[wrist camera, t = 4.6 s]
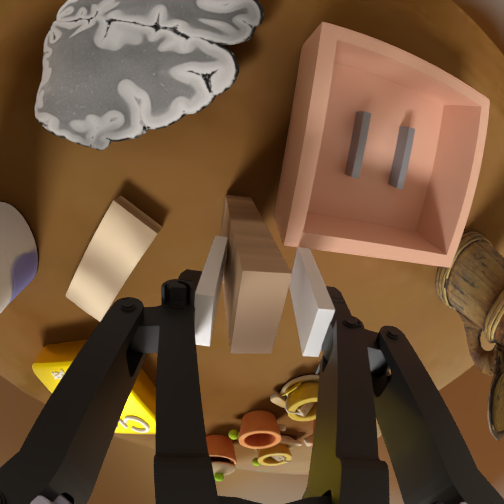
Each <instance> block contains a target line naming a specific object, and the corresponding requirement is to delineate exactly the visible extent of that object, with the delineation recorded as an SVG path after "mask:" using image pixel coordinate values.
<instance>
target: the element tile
mask: <svg viewBox="0 0 504 504" xmlns="http://www.w3.org/2000/svg"><path fill="white" fill-rule="evenodd" d="M87 340H88V339H86V340H79V341H71V342H64V343H56V344H48V345H45V346H44V348H43V349H42V351H41V352H40V354H39V355H38V357H37V358H36V360H35V361H34V363H33V364H32V369H33V371H34V373H35V374H36V376H37V377H38V378H39V379H40V380H41V382H42V383H43V384H44V385H45V386H46V387H47V388H48V390H49V391H50V392H51V393H53V391H54V390H55V388H56V387H57V385H58V383H59V382H60V380H61V379H62V377H63V376H64V374H65V372H66V371H67V369H68V368H69V366H70V365H71V363H72V362H73V360H74V359H75V357H76V356H77V354H78V353H79V351H80V350H81V348H82V347H83V346H84V344H85V343H86V341H87ZM114 433H127V434H156V387H155V386H154V384H153V383H152V382H151V380H150V379H149V378H148V376H147V375H146V373H145V372H144V371H143V369H142V368H141V370H140V372H139V375H138V377H137V379H136V382H135V384H134V386H133V389H132V391H131V393H130V396H129V398H128V400H127V403H126V405H125V408H124V410H123V413H122V415H121V417H120V420H119V422H118V425H117V427H116V430H115V432H114Z"/></svg>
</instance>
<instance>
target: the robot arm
mask: <svg viewBox="0 0 504 504" xmlns="http://www.w3.org/2000/svg"><path fill="white" fill-rule="evenodd" d="M227 239H228V237H221V236H215V238H214V241H213V243H212V246H211V249H210V252H209V255H208V257H207V260H206V263H205V266H204V269H203V272H202V271H195V270H188V269H187V270H185V271H184V272H182V273H181V274H180V276H179V278H178V279H172V280H169V281H166V282H165V283H163V284H162V286H161V295H162V305H160V306H157V307H143V303H142V302H141V301H140V300H139V299H136V298H131V297H126V298H121V299H119V300H117V301H116V302H115V303H114V304H113V305H112V306H111V308H110V309H109V311H108V312H107V313H106V315H105V316H104V317H103V319H102V320H101V321H100V323H99V324H98V326H97V327H96V328H95V330H94V331H93V333H92V334H91V335H90V337H89V338H88V340H87V341H86V343H85V344H84V346H83V347H82V348H81V350H80V351H79V353H78V354H77V356H76V357H75V359H74V360H73V362H72V363H71V365H70V366H69V368H68V369H67V371H66V372H65V374H64V376H63V377H62V379H61V380H60V382H59V383H58V385H57V387H56V388H55V390H54V391H53V393H52V395H51V396H50V398H49V400H48V401H47V403H46V405H45V406H44V408H43V410H42V411H41V413H40V415H39V417H38V418H37V420H36V422H35V424H34V425H33V427H32V429H31V431H30V432H29V434H28V436H27V438H26V440H25V442H24V444H23V446H22V448H21V449H20V451H19V452H18V453H17V454H15V455H14V456H13V457H12V458H11V459H10V460H9V461H7V462H6V463H5V464H4V465H3V466H2V467H1V468H0V504H86V503H87V502H88V500H89V498H90V496H91V494H92V491H93V489H94V486H95V483H96V480H97V478H98V475H99V472H100V469H101V467H102V464H103V461H104V458H105V456H106V453H107V450H108V448H109V445H110V443H111V440H112V438H113V435H114V432H115V430H116V427H117V425H118V422H119V420H120V417H121V415H122V413H123V410H124V408H125V405H126V403H127V400H128V398H129V396H130V393H131V391H132V389H133V386H134V384H135V382H136V379H137V377H138V375H139V372H140V370H141V368H142V366H143V363H144V361H145V359H146V357H147V353H158V357H157V377H156V455H155V456H154V483H155V498H156V504H261V503H257V502H252V501H249V500H244V499H241V498H236V497H225V496H218V495H217V490H216V485H215V479H214V473H213V467H212V462H211V458H210V456H209V453H208V448H207V441H206V434H205V426H204V419H203V411H202V402H201V393H200V384H199V374H198V364H197V353H196V345H203V346H210V342H211V337H212V332H213V327H214V321H215V316H216V311H217V306H218V301H219V296H220V291H221V286H222V281H223V275H224V266H225V257H226V248H227ZM289 287H290V292H291V297H292V303H293V308H294V313H295V318H296V323H297V328H298V334H299V339H300V344H301V350H302V355H303V356H312V357H318V356H319V353H320V351H321V348H322V351H323V356H322V359H321V361H320V363H319V366H318V368H317V371H316V373H315V374H318V372H319V386H318V399H317V410H316V421H315V430H314V439H313V448H312V456H311V463H310V471H309V478H308V484H307V488H306V491H305V493H304V495H303V497H302V499H301V500H298V501H294V502H290V503H286V504H389V470H388V465H387V463H386V462H385V461H380V460H379V457H378V445H377V444H378V443H377V427H376V418H377V421H378V424H379V427H380V430H381V433H382V436H383V438H384V441H385V444H386V447H387V450H388V453H389V456H390V459H391V462H392V465H393V469H394V471H395V475H396V478H397V481H398V484H399V488H400V491H401V494H402V498H403V501H404V504H504V499H503V498H502V497H501V496H500V494H499V493H498V492H497V491H496V490H495V489H494V487H493V486H492V485H491V484H490V483H489V482H488V481H487V479H486V478H485V477H484V476H483V475H482V474H481V473H480V471H479V470H478V469H477V467H476V465H475V462H474V460H473V458H472V456H471V454H470V451H469V449H468V447H467V445H466V443H465V441H464V439H463V437H462V435H461V433H460V431H459V429H458V427H457V425H456V423H455V421H454V419H453V417H452V415H451V413H450V412H449V410H448V408H447V406H446V404H445V402H444V401H443V399H442V397H441V395H440V393H439V391H438V390H437V388H436V386H435V384H434V383H433V381H432V379H431V377H430V376H429V374H428V372H427V371H426V369H425V367H424V366H423V364H422V362H421V361H420V359H419V357H418V356H417V354H416V352H415V351H414V349H413V348H412V346H411V344H410V343H409V341H408V340H407V338H406V336H405V335H404V334H403V333H402V331H400V330H399V329H398V328H396V327H393V326H383V327H382V328H381V329H380V331H379V333H377V332H373V331H369V330H366V329H364V325H363V323H362V322H361V321H360V320H359V319H357V318H356V317H354V316H352V315H351V313H350V311H349V309H348V307H347V304H346V302H345V300H344V299H343V296H342V294H341V292H340V291H339V290H337V289H336V288H335V287H328V286H325V283H324V281H323V279H322V276H321V274H320V272H319V269H318V267H317V264H316V262H315V260H314V257H313V255H312V253H311V251H310V249H309V248H302V247H298V248H297V253H296V257H295V262H294V266H293V271H292V275H291V279H290V284H289ZM389 369H391V375H390V374H389V372H388V370H389Z"/></svg>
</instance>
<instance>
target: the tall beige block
mask: <svg viewBox="0 0 504 504" xmlns="http://www.w3.org/2000/svg"><path fill="white" fill-rule="evenodd" d="M221 237H228V239H227V248H226V257H225V266H224V275H223V281H222V283H223V292H224V302H225V311H226V320H227V329H228V338H229V346H230V353H249V354H263V353H272V349H273V345H274V342H275V338H276V334H277V330H278V326H279V323H280V319H281V315H282V311H283V307H284V303H285V299H286V295H287V291H288V287H289V282H290V278H291V274H292V273H291V271H290V269H289V268H288V266H287V264H286V262H285V260H284V258H283V256H282V254H281V252H280V250H279V249H278V247H277V245H276V243H275V241H274V239H273V237H272V235H271V233H270V232H269V230H268V228H267V226H266V224H265V222H264V220H263V219H262V217H261V215H260V213H259V211H258V209H257V207H256V206H255V204H254V202H253V200H252V198H251V197H244V196H235V195H225V202H224V210H223V218H222V227H221Z"/></svg>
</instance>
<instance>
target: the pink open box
mask: <svg viewBox="0 0 504 504" xmlns="http://www.w3.org/2000/svg"><path fill="white" fill-rule="evenodd" d="M489 105H490V100H489V99H487V98H486V97H485V96H483V95H482V94H480V93H479V92H477V91H476V90H474V89H473V88H471V87H470V86H468V85H467V84H465V83H464V82H462V81H460V80H459V79H457V78H455V77H454V76H452V75H450V74H449V73H447V72H445V71H443V70H442V69H440V68H438V67H436V66H434V65H432V64H431V63H429V62H427V61H425V60H423V59H421V58H419V57H417V56H415V55H413V54H410V53H408V52H406V51H404V50H402V49H399V48H397V47H395V46H392V45H390V44H388V43H385V42H383V41H380V40H378V39H375V38H372V37H370V36H367V35H364V34H361V33H359V32H356V31H353V30H349V29H346V28H343V27H340V26H337V25H333V24H330V23H326V22H321V24H320V25H319V26H318V27H317V28H316V29H315V31H314V32H313V33H312V34H311V36H310V37H309V38H308V39H307V40H306V42H305V43H304V44H303V45H302V48H301V55H300V61H299V67H298V74H297V80H296V86H295V93H294V99H293V105H292V111H291V117H290V123H289V129H288V135H287V141H286V147H285V153H284V159H283V164H282V170H281V176H280V182H279V187H278V193H277V199H276V204H275V210H274V219H275V222H276V224H277V227H278V230H279V233H280V236H281V239H282V242H283V245H284V246H292V247H302V248H309V249H315V250H323V251H331V252H338V253H346V254H354V255H361V256H369V257H376V258H383V259H391V260H398V261H405V262H412V263H420V264H427V265H434V266H441V267H448V268H450V267H451V264H452V262H453V259H454V257H455V254H456V251H457V248H458V246H459V243H460V240H461V237H462V234H463V231H464V228H465V225H466V222H467V218H468V215H469V212H470V208H471V204H472V201H473V197H474V193H475V189H476V185H477V181H478V176H479V172H480V167H481V162H482V157H483V151H484V146H485V139H486V132H487V125H488V116H489Z"/></svg>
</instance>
